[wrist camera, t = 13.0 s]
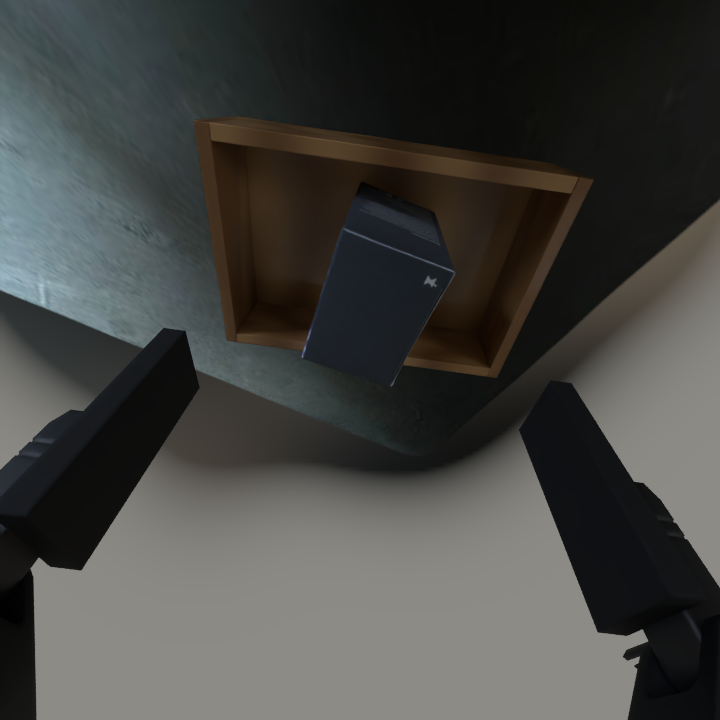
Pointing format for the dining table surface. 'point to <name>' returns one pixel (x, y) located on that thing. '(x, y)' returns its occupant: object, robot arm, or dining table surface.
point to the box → (379, 287)
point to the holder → (330, 208)
